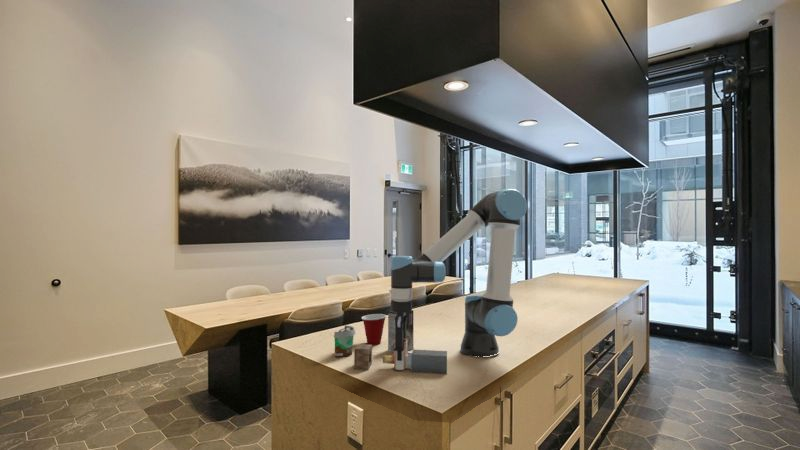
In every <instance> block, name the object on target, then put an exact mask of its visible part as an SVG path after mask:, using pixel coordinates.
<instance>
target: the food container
mask: <svg viewBox="0 0 800 450" xmlns="http://www.w3.org/2000/svg"><path fill="white" fill-rule="evenodd" d="M355 335H356V330H355V327H354V326H351V325H344V327H343V328H341V329H339V330H338V331H334V333H333V338H334V358H335V357H336V358H335V359H337V358H338V359H339V358H341V359H342V358H347V357H351V356H352V355H353V349H354V348H353V347H354V336H355Z"/></svg>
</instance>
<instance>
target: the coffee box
mask: <svg viewBox="0 0 800 450" xmlns="http://www.w3.org/2000/svg"><path fill="white" fill-rule="evenodd" d="M387 313H388V314H387V315H388V317H387V318H388V319H387V323H388V324H387V325H388V326H387V331H388V332H387V333H388V334H387V350H388V351H389V352H392V353H394V341H395V317H396V315H397V312H393V311H391V310H388V312H387ZM405 313H406V314H407V327H406V338H407V342H408V345H407V352H408V351H411V350H412V351H413V350H414V310H413V309H412V311H410V312H405Z"/></svg>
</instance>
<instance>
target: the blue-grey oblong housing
mask: <svg viewBox="0 0 800 450" xmlns="http://www.w3.org/2000/svg"><path fill="white" fill-rule="evenodd" d="M411 353H412V358H411V368H410V369H411V370H410V371H411V373H419V374H436V375H437V374H438V375H447V374H448V350H434V349H433V350H432V349H431V350H430V349H412V352H411Z"/></svg>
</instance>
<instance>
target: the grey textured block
mask: <svg viewBox="0 0 800 450" xmlns="http://www.w3.org/2000/svg"><path fill="white" fill-rule="evenodd" d="M353 349H354V351H353V352H354V353H353V354H354V356H353V357H354V358H353V361H354V363H353V369H354V370H361V369H365V370H366V371H369V369H370V368H371V366H372V365H373V363H372V362H373V361H372V360H373V345H369V344H365V343H364V344H362V343H358V344H357V345H356V346H355V347H354V348H353Z"/></svg>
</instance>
